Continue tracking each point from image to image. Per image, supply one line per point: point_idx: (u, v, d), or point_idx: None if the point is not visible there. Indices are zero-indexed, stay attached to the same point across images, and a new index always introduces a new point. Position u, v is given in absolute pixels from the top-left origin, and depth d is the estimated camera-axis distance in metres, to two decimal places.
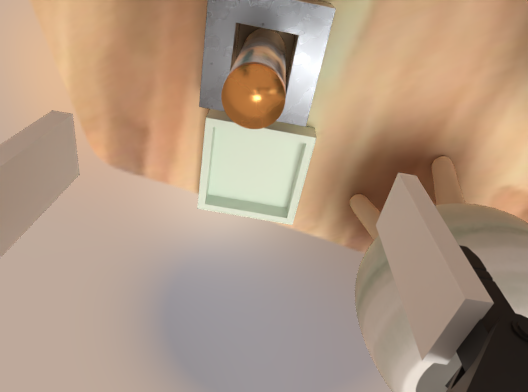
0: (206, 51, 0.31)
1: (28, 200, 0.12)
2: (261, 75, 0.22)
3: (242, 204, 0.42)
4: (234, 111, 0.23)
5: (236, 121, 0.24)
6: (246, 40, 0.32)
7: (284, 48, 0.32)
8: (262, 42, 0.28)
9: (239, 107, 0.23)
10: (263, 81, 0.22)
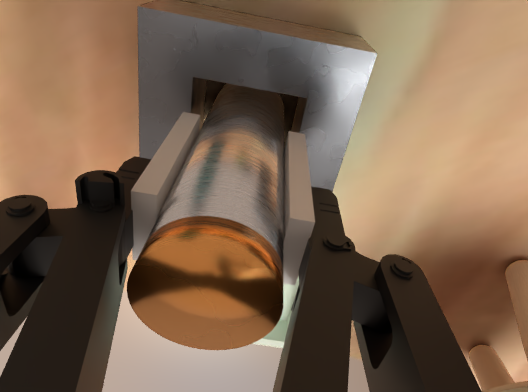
0: (144, 124, 0.18)
1: None
2: (221, 260, 0.09)
3: None
4: (163, 321, 0.10)
5: (170, 337, 0.10)
6: (216, 101, 0.18)
7: (282, 113, 0.19)
8: (239, 121, 0.15)
9: (173, 315, 0.10)
10: (227, 272, 0.09)
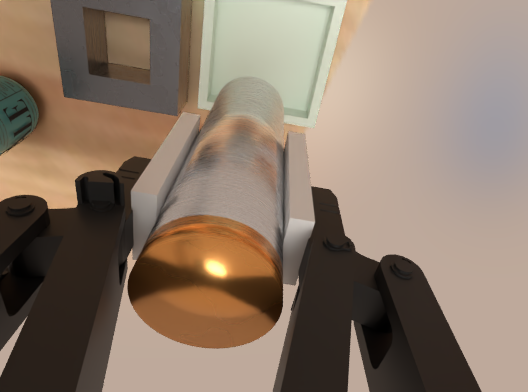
0: (122, 104, 0.33)
1: None
2: (221, 259, 0.09)
3: (317, 70, 0.33)
4: (163, 319, 0.10)
5: (170, 335, 0.10)
6: (216, 101, 0.18)
7: (281, 113, 0.19)
8: (239, 121, 0.15)
9: (174, 314, 0.10)
10: (227, 270, 0.09)
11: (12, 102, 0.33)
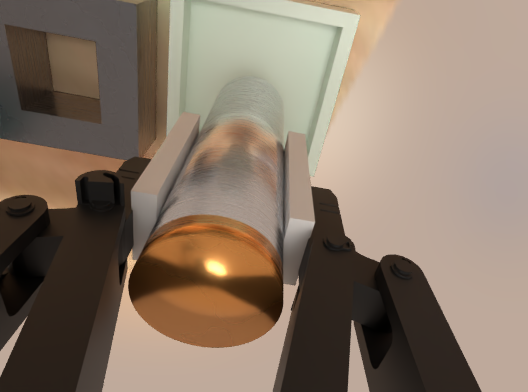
0: (66, 146, 0.25)
1: None
2: (222, 258, 0.09)
3: (318, 105, 0.26)
4: (164, 318, 0.10)
5: (171, 335, 0.10)
6: (216, 101, 0.19)
7: (282, 113, 0.19)
8: (239, 121, 0.15)
9: (174, 313, 0.10)
10: (227, 270, 0.09)
11: None
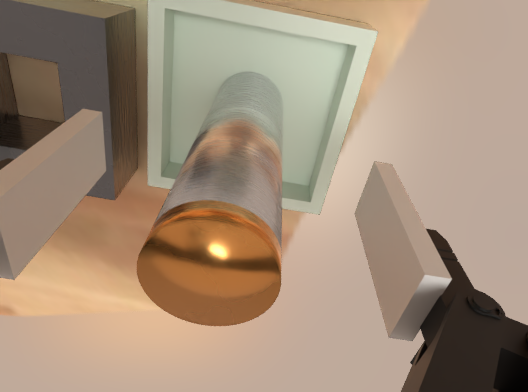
0: None
1: (64, 194, 0.13)
2: (224, 240, 0.09)
3: (326, 134, 0.22)
4: (170, 298, 0.11)
5: (176, 314, 0.11)
6: (217, 96, 0.19)
7: (280, 107, 0.20)
8: (239, 114, 0.15)
9: (179, 293, 0.11)
10: (229, 251, 0.10)
11: None
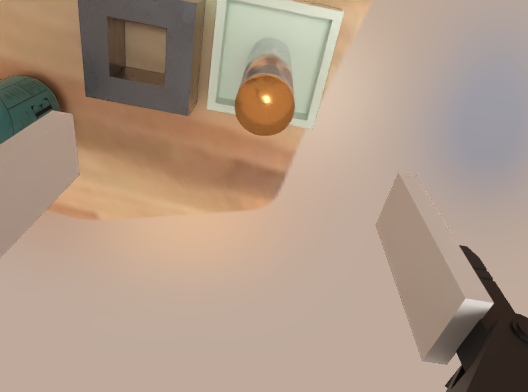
0: (138, 104, 0.36)
1: (28, 200, 0.12)
2: (272, 86, 0.24)
3: (316, 76, 0.36)
4: (246, 119, 0.25)
5: (248, 128, 0.25)
6: (253, 49, 0.33)
7: (290, 56, 0.34)
8: (270, 52, 0.29)
9: (251, 115, 0.25)
10: (274, 91, 0.24)
11: (38, 100, 0.36)
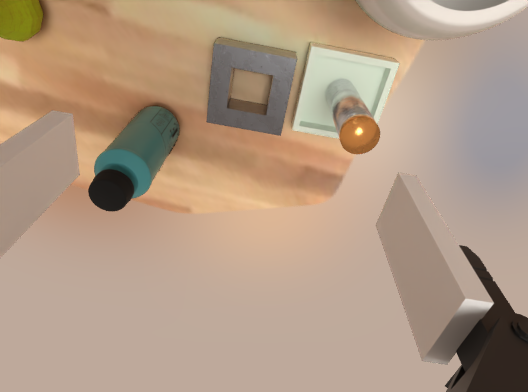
0: (244, 127, 0.49)
1: (28, 200, 0.12)
2: (367, 123, 0.37)
3: (374, 106, 0.49)
4: (347, 143, 0.38)
5: (347, 149, 0.38)
6: (332, 88, 0.46)
7: None
8: (351, 94, 0.43)
9: (350, 141, 0.38)
10: (367, 126, 0.37)
11: (171, 125, 0.49)
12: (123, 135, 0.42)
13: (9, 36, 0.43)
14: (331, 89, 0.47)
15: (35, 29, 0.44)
